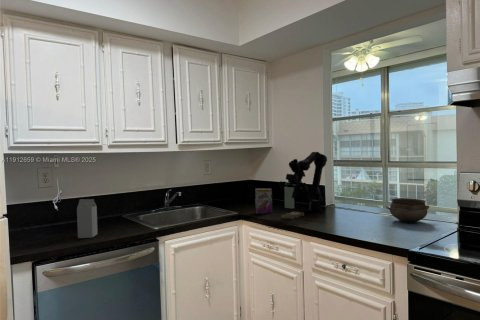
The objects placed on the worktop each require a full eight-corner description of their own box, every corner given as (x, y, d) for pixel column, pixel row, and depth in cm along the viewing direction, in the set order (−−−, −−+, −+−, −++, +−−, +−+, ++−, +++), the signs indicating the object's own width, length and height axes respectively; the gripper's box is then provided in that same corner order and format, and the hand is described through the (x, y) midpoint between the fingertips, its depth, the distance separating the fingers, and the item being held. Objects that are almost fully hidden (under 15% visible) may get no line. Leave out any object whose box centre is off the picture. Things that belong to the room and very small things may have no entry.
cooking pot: (417, 217, 192) (417, 197, 192) (440, 224, 174) (440, 202, 173) (378, 219, 190) (378, 198, 189) (397, 226, 171) (397, 204, 170)
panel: (286, 207, 198) (286, 186, 197) (294, 207, 194) (293, 187, 193) (284, 207, 196) (284, 187, 196) (292, 208, 192) (292, 187, 192)
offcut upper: (291, 214, 203) (291, 212, 203) (300, 215, 199) (300, 213, 199) (288, 215, 200) (288, 213, 200) (297, 217, 196) (297, 214, 196)
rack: (293, 215, 206) (293, 211, 205) (304, 216, 200) (304, 212, 200) (281, 218, 196) (281, 214, 196) (292, 220, 190) (292, 216, 190)
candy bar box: (255, 214, 212) (254, 189, 211) (255, 212, 217) (255, 188, 216) (272, 214, 211) (271, 189, 210) (272, 212, 216) (271, 188, 215)
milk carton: (83, 234, 167) (82, 198, 167) (97, 234, 168) (96, 198, 167) (77, 238, 160) (76, 200, 160) (92, 237, 161) (91, 200, 160)
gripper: (279, 168, 203) (269, 187, 195) (305, 169, 191) (296, 189, 183) (286, 179, 210) (277, 199, 202) (312, 181, 197) (303, 201, 189)
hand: (288, 197), depth 194 cm, fingers closed on panel, 5 cm apart
